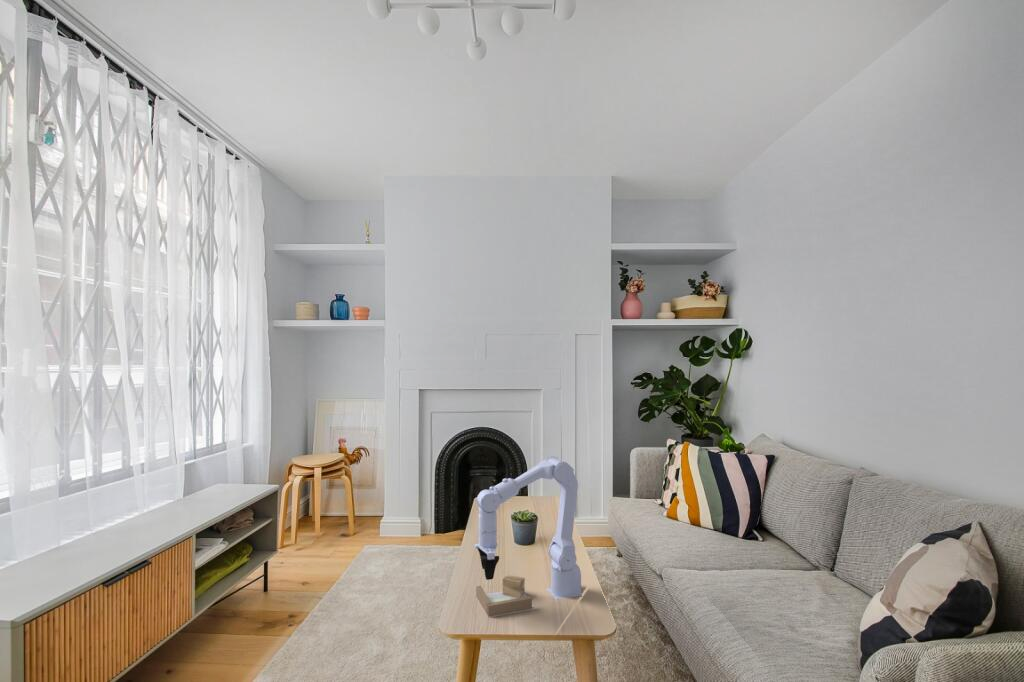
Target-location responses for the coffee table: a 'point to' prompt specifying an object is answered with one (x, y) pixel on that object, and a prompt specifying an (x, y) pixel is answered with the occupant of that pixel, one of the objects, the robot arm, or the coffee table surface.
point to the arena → (503, 603)
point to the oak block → (513, 586)
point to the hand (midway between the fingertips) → (487, 573)
